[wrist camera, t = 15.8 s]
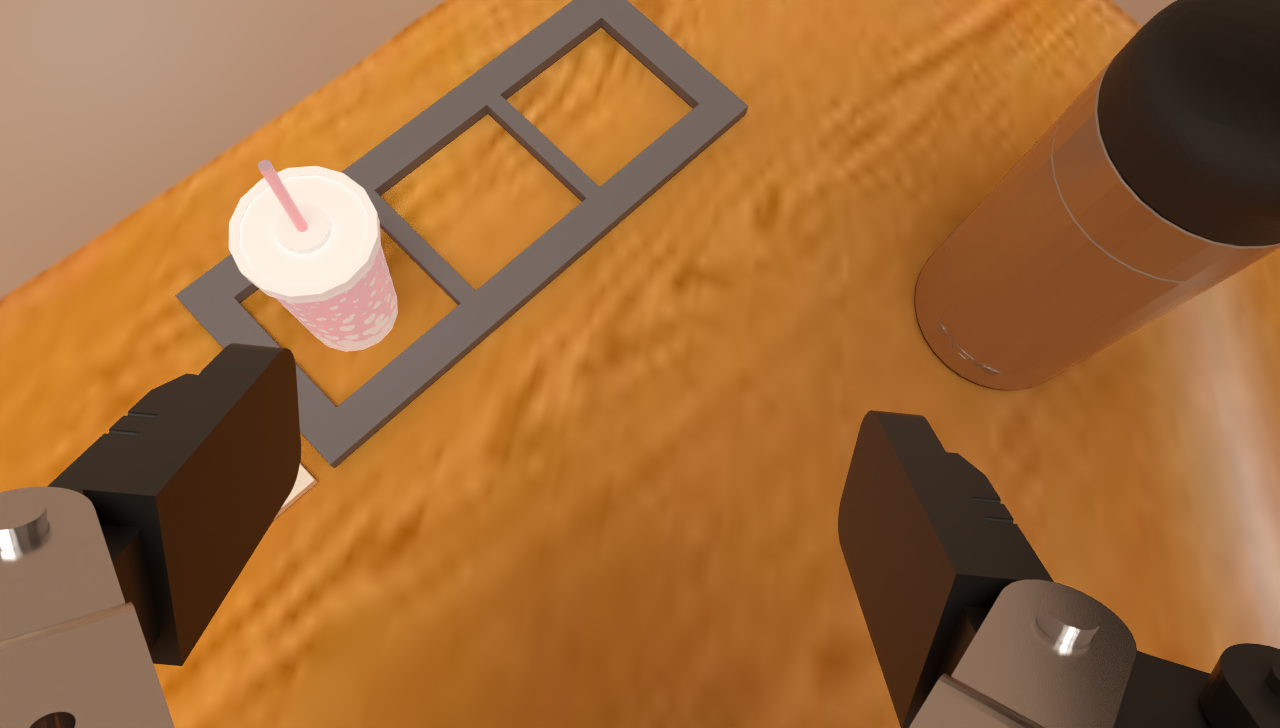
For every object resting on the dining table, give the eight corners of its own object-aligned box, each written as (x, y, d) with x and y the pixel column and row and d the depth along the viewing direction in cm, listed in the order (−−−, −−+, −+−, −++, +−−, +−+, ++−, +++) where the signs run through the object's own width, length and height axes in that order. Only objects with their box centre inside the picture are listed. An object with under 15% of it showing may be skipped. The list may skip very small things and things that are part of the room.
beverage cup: (426, 346, 44) (368, 215, 31) (306, 380, 43) (193, 260, 30) (396, 243, 46) (330, 78, 33) (280, 273, 45) (162, 115, 32)
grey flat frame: (601, -12, 53) (602, -22, 52) (745, 114, 51) (748, 106, 50) (181, 301, 44) (175, 295, 43) (334, 467, 42) (330, 464, 41)
